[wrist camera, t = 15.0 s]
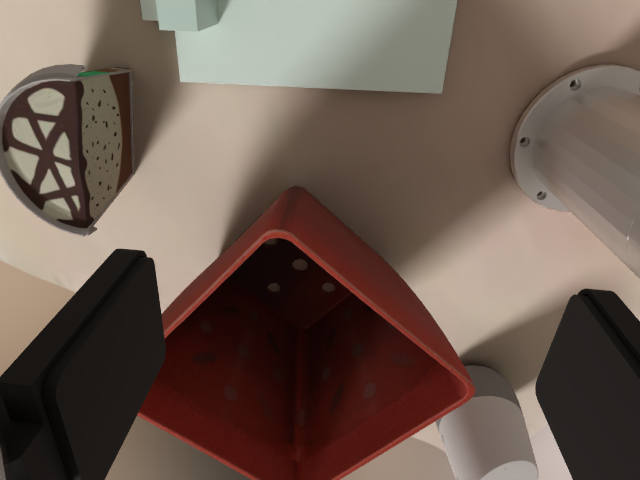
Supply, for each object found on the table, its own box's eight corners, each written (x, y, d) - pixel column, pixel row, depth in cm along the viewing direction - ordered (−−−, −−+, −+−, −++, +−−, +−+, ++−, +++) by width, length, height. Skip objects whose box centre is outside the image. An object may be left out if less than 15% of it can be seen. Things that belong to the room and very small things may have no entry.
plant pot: (436, 264, 46) (484, 396, 32) (306, 362, 53) (296, 507, 39) (296, 133, 40) (276, 222, 25) (170, 264, 47) (97, 393, 32)
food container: (52, 34, 36) (-36, 51, 28) (131, 49, 37) (69, 71, 28) (67, 177, 42) (-1, 229, 34) (134, 189, 43) (84, 242, 34)
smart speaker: (504, 409, 56) (552, 528, 44) (428, 415, 57) (455, 533, 45) (510, 352, 52) (565, 467, 40) (427, 359, 53) (456, 474, 40)
